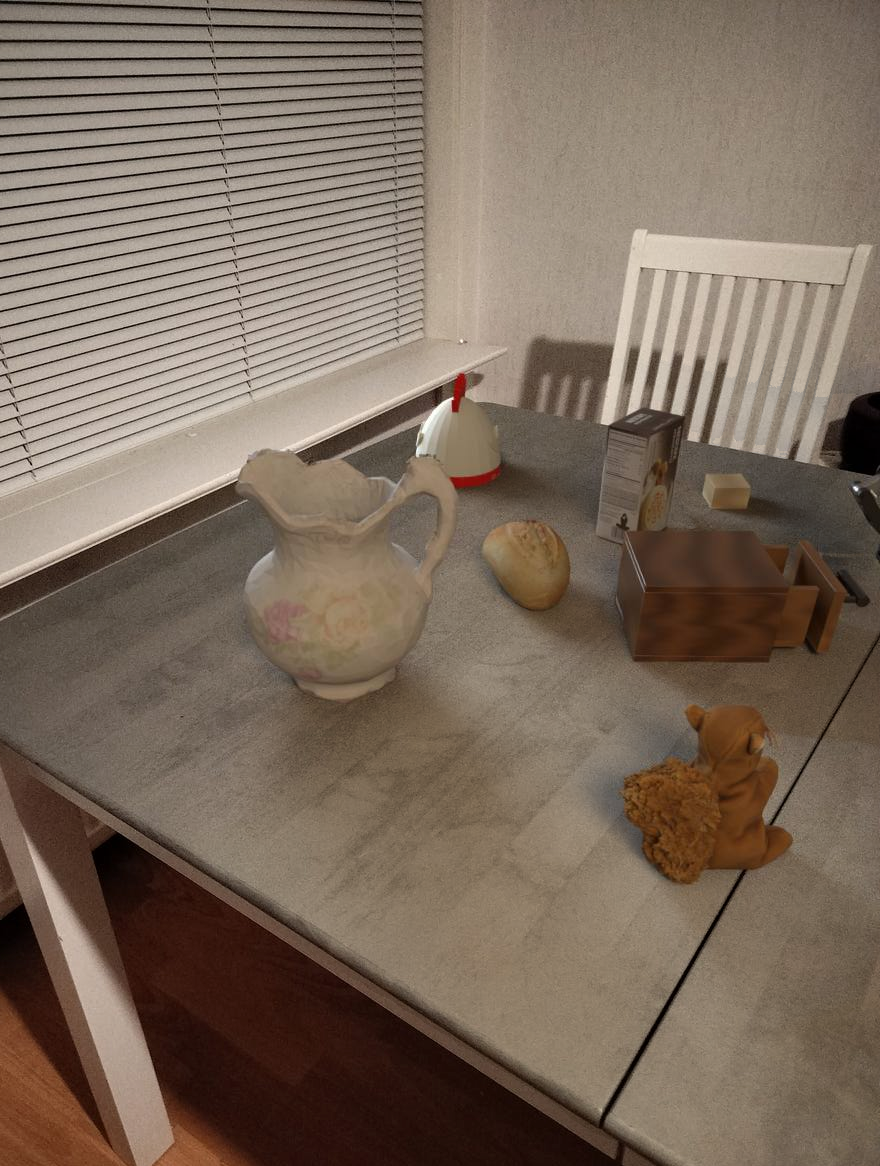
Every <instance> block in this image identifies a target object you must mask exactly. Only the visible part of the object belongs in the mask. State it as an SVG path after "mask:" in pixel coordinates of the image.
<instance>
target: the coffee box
mask: <svg viewBox="0 0 880 1166" xmlns="http://www.w3.org/2000/svg"><path fill="white" fill-rule="evenodd" d="M685 420H686V416H685V415H682V414H681V415H680V414H676V413H672V412H671V413H670V412H667V411H663V410H657V409H654V408H649V407H640V408H638V409H636V410H635V411H633V412H631V413H629V414H627V415H624V416H623V417H621V418H619V419H618V420H616V421H614V422H611V423H609V424H608V425H607V433H606V434H607V435H606V440H605V442H606V443H605V452H604V459H603V466H602V467H603V468H602V477H601V487H600V495H599V504H598V514H597V521H596V528H595V529H596V530H595V535H596V536H597V537H599V538H602V539H605V540H608V541H611V542H614V543H616V544H617V543H618V544H620V545H623V540H624V533H625V531H663V529H665V528H666V527H667V526H668V523H669V517H670V510H671V505H672V498H673V493H674V486H675V481H676V475H677V467H678V462H679V457H680V450H681V444H682V438H683V433H684V425H685Z"/></svg>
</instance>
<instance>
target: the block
mask: <svg viewBox="0 0 880 1166" xmlns="http://www.w3.org/2000/svg"><path fill="white" fill-rule="evenodd" d="M702 488H703V489H702V494H701V495H702V496H703V498H704V500H705V502H706V503H707V505H708V506H709V508H710V509H711V510H712V509H713V510H720V509H722V510H725V509H726V510H731V509H732V510H734V509H735V510H739V509H740V510H747V509H748V504H749V501H750V497H751V492H752V486H751V485H750V484H749V483H748V481H747V479H746V478H745V476H743V474H742V473H706V474H705V477H704V483H703V487H702Z"/></svg>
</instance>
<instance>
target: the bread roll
mask: <svg viewBox="0 0 880 1166" xmlns="http://www.w3.org/2000/svg"><path fill="white" fill-rule="evenodd" d="M481 553H482V557H483V559H484V562H485V564H486V565H487V566H488V568H489V569H490V570H491V571H492V573H493V575H494V576H495V577H496V579H497V581H498V582H499V583H500V585H501V586H502V588H503V590H504V591H505V592H506V594H508V595H509V596H510V597H511V599H513V600H514V602H516V603H517V604H518V605H519V606H521V607H523V608H525V609H529V610H533V611H544V610H548V609H551V608H552V607H554V606H556V605H557V604H558V603H559V602H560V601H561V599H562V598H563V597H564V595H565V593H566V591H567V590H568V587H569V585H570V578H571V577H570V576H571V562H570V556H569V552H568V549H567V547H566V544H565V542H564V541H563V539H562V538H561V536H560V535H559V534H558V532H556V530H554V528H553V527H551V526H550V525H549V524H547V523H546V522H544V521H542V520H536V519H531V518H530V519H526V520H525V521H523V522H522V521H520V520H517V521H512V522H508V523H504V524H502V525H500V526H497V527H495V528H493V529H492V530H490V532H489V533H488V535H487V536H486V538H485V540H484V541H483V544H482V550H481Z"/></svg>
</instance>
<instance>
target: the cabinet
mask: <svg viewBox="0 0 880 1166" xmlns="http://www.w3.org/2000/svg"><path fill="white" fill-rule="evenodd" d="M763 545H764V544H763V543H762V542H761V540H760V539H759V538H758V536H757V534H756V533H755V531H754V530H660V531H625V533H624V540H623V544H622V548H621V553H620V555H621V556H620V563H619V568H618V569H619V570H618V575H617V576H618V577H617V584H616V592H615V597H614V598H615V599H614V602H615V605H616V609H617V612H618V616H619V618H620V622H621V625H622V629H623V632H624V634H625V637H626V638H625V639H626V641H627V644H628V648H629V651H630V654H631V657H632V660H633V662H679V663H681V662H684V663H685V662H686V663H687V662H690V663H691V662H692V663H693V662H695V663H697V662H701V663H702V662H703V663H769V662H770V661H771V657H772V653H773V649H774V647H773V646H774V642H775V639H776V635H777V631H778V628H779V624H780V620H781V617H782V613H783V609H784V606H785V602H786V598H787V595H788V591H789V587H790V586H789V585H788V583H787V580H786V578H785V577H784V575H783V576H782V574H781V573H780V571H779V569H778V568H777V566H776V565H775V563H774V562H773V560H772V559H771V557H770V556H769V554H768V553H767V551H766V550H765V548H764V547H763Z"/></svg>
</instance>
